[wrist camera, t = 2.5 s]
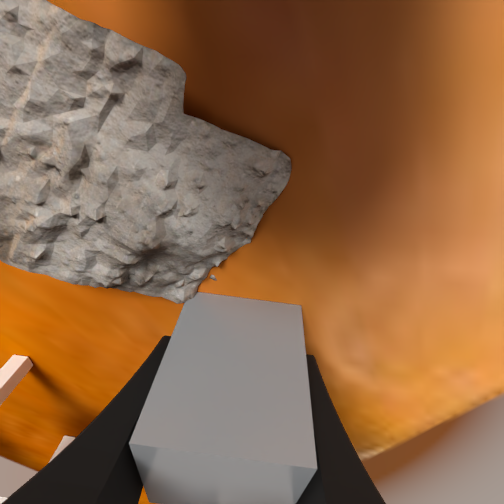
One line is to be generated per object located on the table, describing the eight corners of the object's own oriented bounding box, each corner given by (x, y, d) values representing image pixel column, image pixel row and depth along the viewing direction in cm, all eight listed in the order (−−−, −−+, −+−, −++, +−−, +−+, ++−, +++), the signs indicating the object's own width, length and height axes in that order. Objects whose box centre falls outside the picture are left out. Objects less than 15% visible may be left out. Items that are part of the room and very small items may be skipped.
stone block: (191, 358, 14) (149, 502, 9) (189, 290, 11) (129, 443, 7) (282, 370, 14) (285, 521, 9) (301, 305, 11) (317, 468, 7)
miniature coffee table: (67, 440, 21) (-7, 570, 15) (13, 354, 15) (-138, 518, 9) (224, 461, 21) (205, 600, 15) (234, 384, 15) (208, 567, 9)
